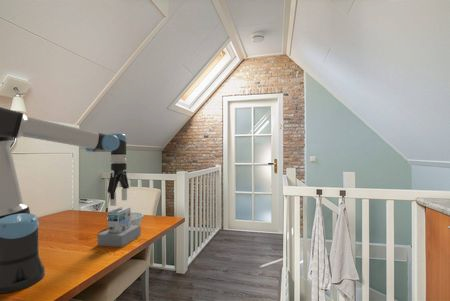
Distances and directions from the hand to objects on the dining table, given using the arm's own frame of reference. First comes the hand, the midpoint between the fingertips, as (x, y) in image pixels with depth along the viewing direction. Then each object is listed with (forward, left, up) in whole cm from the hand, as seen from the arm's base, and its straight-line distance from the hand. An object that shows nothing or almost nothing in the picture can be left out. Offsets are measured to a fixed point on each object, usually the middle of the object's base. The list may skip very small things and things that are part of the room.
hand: (119, 202), depth 124 cm
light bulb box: (0, 0, -14) cm, 14 cm away
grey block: (0, 0, -20) cm, 20 cm away
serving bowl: (+22, +6, -20) cm, 30 cm away
